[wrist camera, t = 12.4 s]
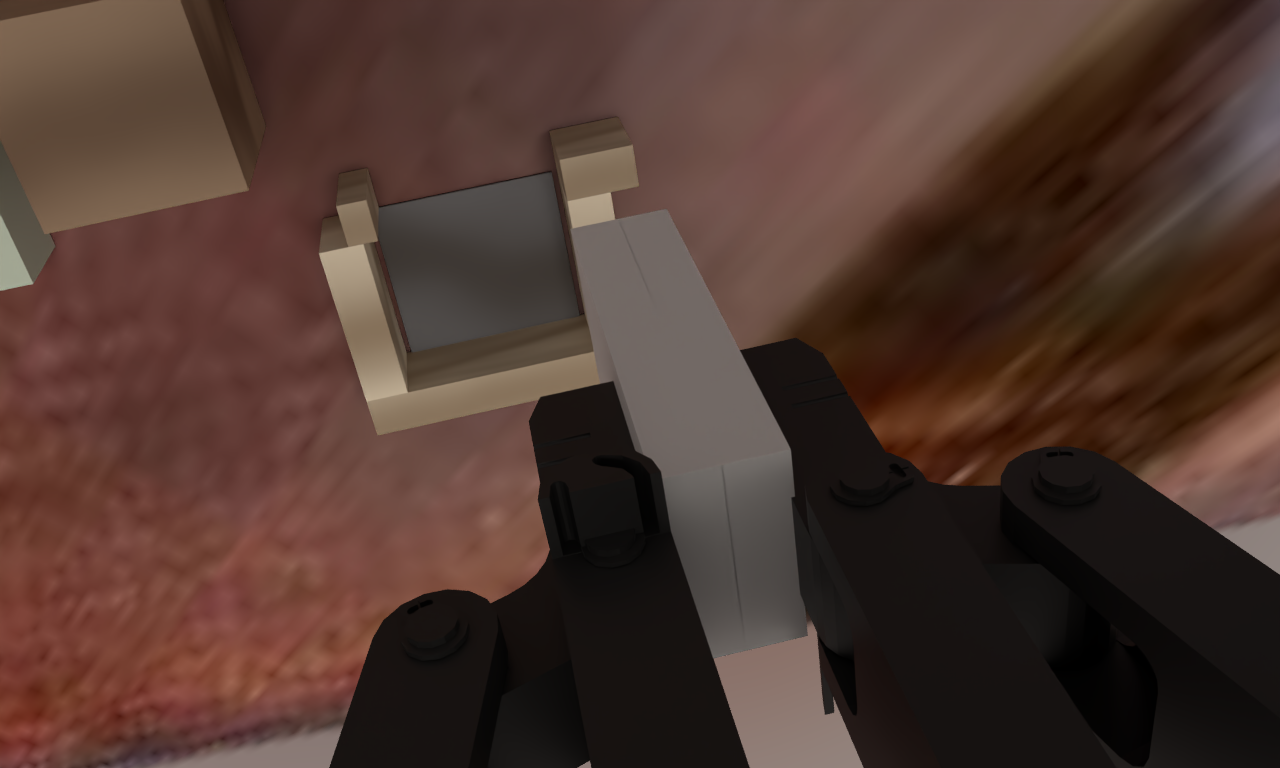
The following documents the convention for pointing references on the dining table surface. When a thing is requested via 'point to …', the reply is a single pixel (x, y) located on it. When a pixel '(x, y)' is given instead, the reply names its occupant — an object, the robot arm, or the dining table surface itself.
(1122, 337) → the dining table surface
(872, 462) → the robot arm
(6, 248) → the bar
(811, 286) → the dining table surface
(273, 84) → the dining table surface
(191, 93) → the block
